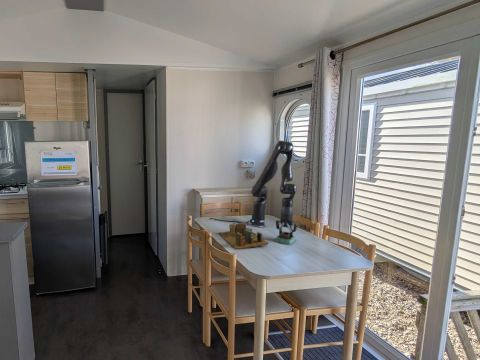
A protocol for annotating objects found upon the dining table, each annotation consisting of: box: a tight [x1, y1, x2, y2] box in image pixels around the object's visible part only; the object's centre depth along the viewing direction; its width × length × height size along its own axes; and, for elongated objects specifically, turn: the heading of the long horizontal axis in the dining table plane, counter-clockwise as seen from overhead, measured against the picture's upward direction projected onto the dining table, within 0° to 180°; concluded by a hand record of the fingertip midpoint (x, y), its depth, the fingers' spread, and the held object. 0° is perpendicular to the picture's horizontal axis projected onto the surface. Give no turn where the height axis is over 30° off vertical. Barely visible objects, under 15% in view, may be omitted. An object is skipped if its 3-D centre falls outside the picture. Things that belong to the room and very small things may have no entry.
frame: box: [278, 230, 290, 240], centre depth 205 cm, size 8×6×3 cm
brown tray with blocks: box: [218, 222, 269, 250], centre depth 207 cm, size 35×24×15 cm
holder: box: [275, 235, 296, 245], centre depth 205 cm, size 11×9×3 cm
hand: (285, 236), depth 205 cm, fingers closed on frame, 6 cm apart
